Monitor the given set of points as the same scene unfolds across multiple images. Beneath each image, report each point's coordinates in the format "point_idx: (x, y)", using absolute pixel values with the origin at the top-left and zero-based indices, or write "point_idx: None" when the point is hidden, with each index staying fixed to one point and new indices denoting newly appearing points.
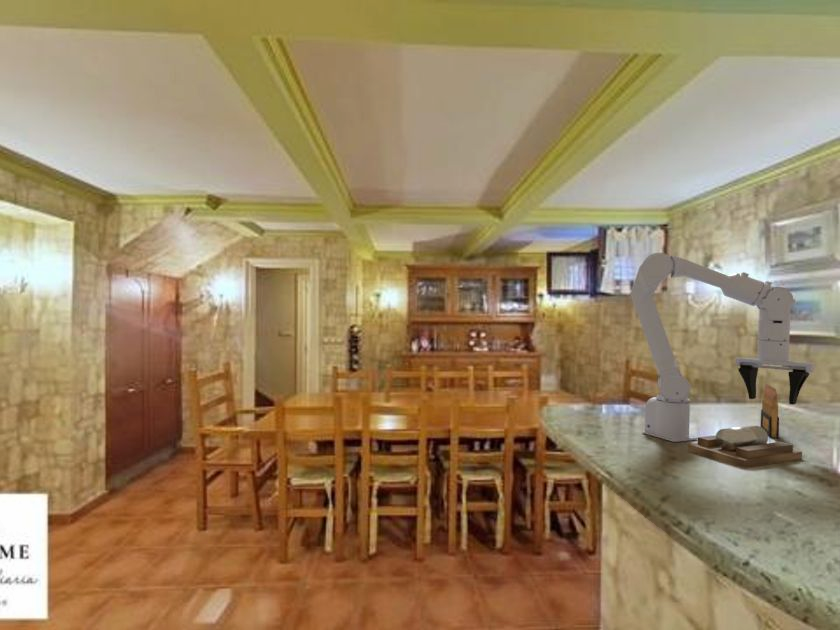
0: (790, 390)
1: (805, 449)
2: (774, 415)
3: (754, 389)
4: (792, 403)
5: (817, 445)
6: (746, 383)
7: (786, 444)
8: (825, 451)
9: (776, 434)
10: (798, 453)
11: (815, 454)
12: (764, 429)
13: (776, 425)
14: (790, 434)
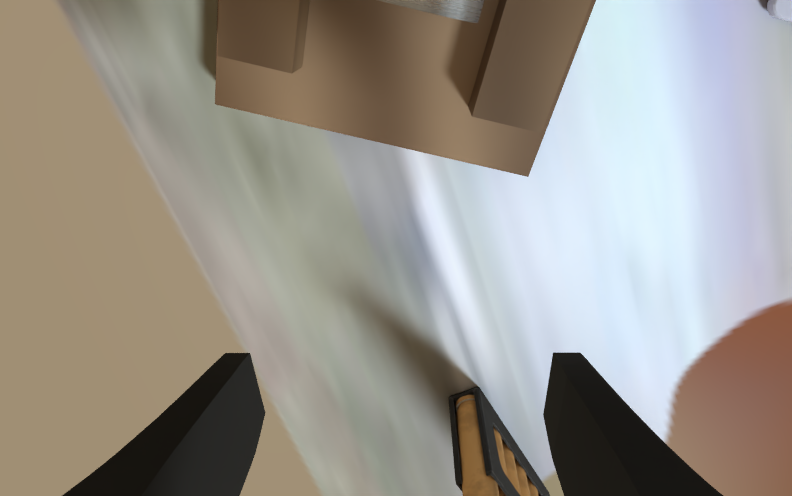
0: (169, 449)
1: (311, 303)
2: (474, 485)
3: (575, 479)
4: (221, 358)
5: (317, 400)
6: (686, 477)
7: (236, 18)
8: (257, 332)
9: (457, 409)
10: (217, 68)
11: (250, 250)
12: (521, 459)
13: (461, 443)
14: (443, 484)
